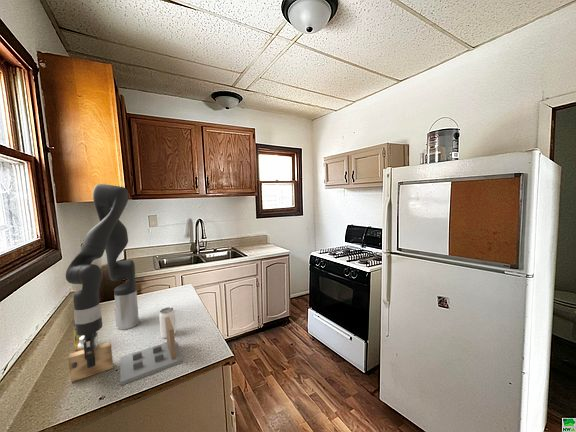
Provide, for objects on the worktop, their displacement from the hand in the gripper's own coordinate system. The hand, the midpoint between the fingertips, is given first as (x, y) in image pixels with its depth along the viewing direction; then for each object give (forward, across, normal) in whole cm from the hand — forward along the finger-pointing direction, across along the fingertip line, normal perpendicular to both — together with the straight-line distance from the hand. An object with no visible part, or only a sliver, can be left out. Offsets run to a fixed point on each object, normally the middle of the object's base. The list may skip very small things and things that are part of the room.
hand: (92, 360), depth 90 cm
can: (+5, +10, -27) cm, 29 cm away
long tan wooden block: (+5, 0, 0) cm, 5 cm away
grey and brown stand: (+5, -6, -17) cm, 19 cm away
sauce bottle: (+5, +21, +4) cm, 22 cm away
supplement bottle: (+5, +11, +3) cm, 12 cm away
